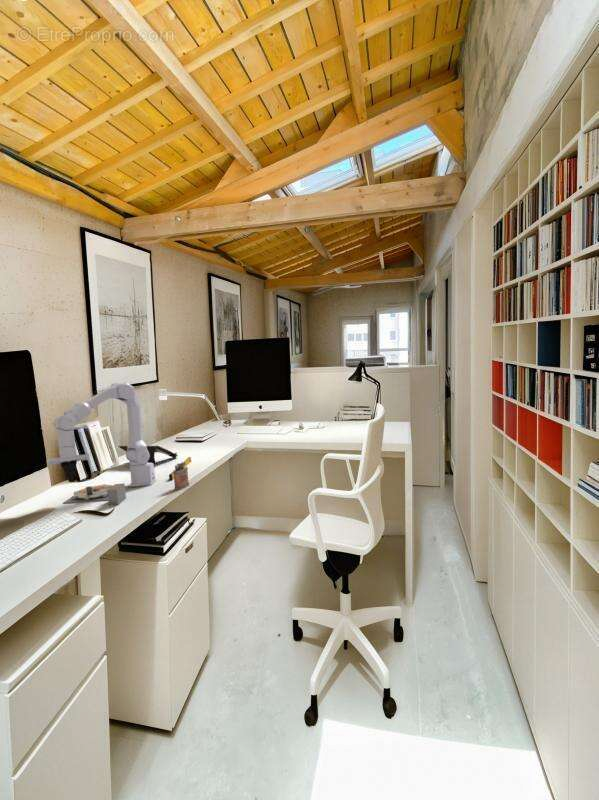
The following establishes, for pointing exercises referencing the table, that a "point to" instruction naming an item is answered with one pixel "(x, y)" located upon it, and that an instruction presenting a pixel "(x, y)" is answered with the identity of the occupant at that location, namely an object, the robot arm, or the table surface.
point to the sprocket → (92, 492)
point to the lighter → (181, 476)
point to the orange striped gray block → (116, 494)
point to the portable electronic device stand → (152, 451)
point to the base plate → (86, 500)
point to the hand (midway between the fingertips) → (71, 480)
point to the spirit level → (187, 461)
